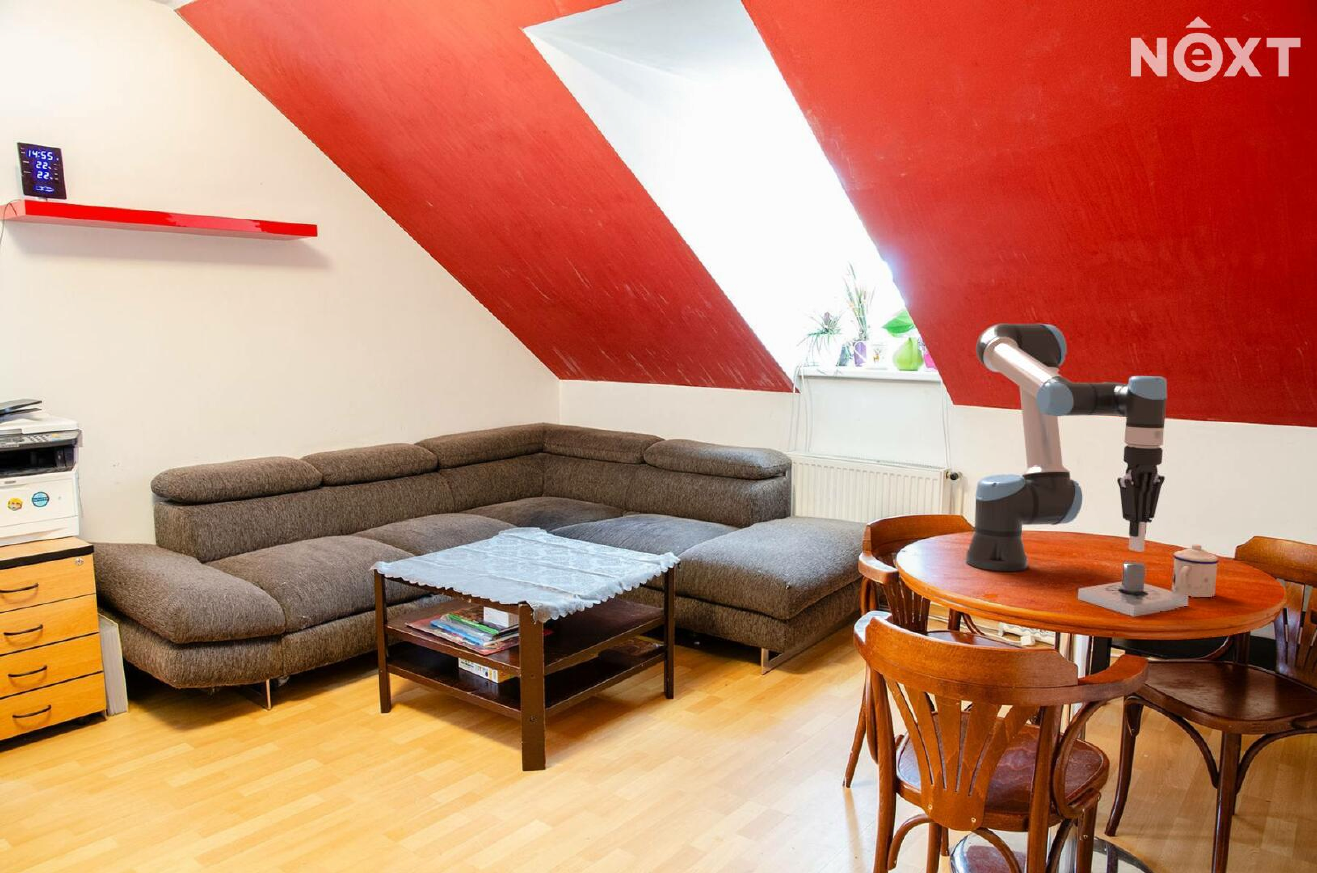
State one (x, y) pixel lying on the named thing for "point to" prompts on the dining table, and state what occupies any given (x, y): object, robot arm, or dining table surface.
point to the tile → (1132, 599)
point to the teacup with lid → (1194, 572)
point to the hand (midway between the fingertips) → (1136, 550)
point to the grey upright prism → (1133, 578)
